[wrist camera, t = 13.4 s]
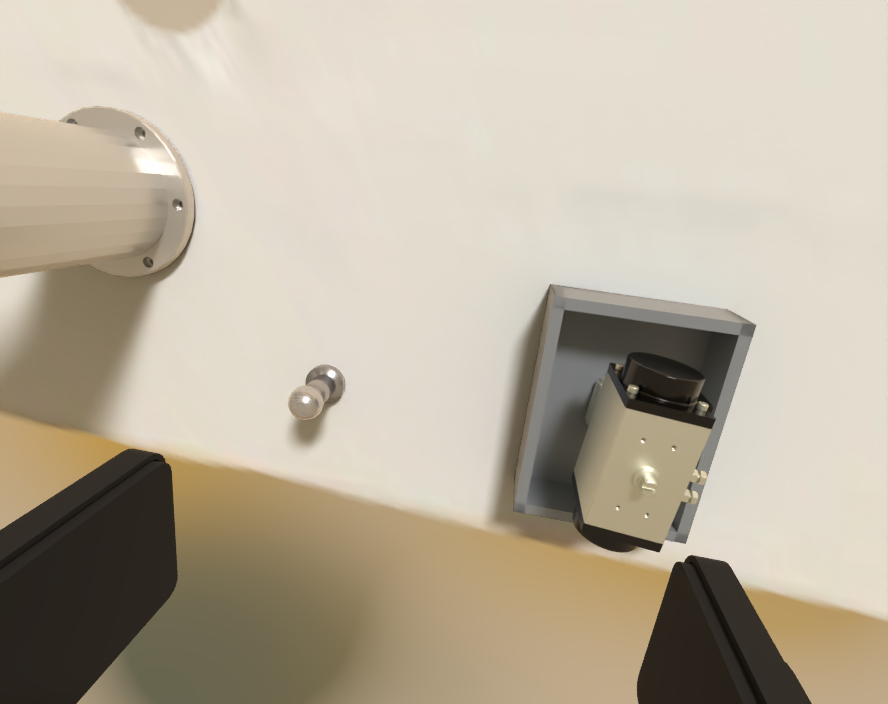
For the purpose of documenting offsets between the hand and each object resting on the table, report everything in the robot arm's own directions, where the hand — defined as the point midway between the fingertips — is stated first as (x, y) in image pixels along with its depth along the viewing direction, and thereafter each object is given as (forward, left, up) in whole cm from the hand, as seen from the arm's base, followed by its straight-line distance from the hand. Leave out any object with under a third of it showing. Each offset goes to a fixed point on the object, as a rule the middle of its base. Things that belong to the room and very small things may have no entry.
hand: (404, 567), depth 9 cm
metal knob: (-12, -10, -30) cm, 34 cm away
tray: (+11, -8, -30) cm, 33 cm away
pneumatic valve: (+11, -8, -30) cm, 33 cm away
